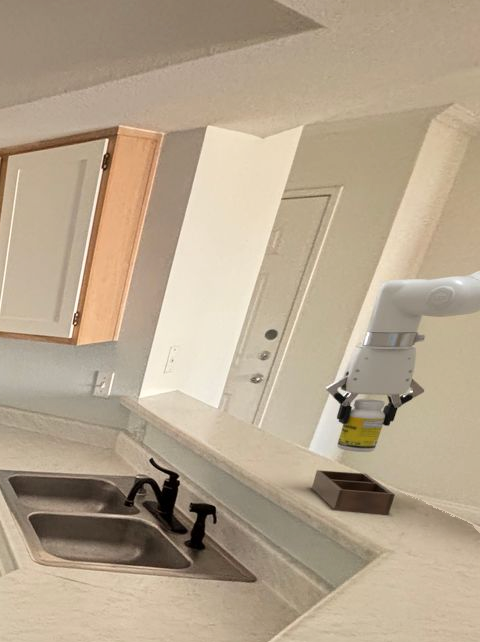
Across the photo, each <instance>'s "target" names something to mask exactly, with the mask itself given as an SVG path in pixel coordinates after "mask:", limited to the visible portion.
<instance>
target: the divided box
mask: <svg viewBox="0 0 480 642" xmlns="http://www.w3.org/2000/svg"><path fill="white" fill-rule="evenodd" d="M311 490H313V491H314V492H315V494H317V495H318V496H319V497H320V498H321V499H322V500H323V501H324V502H325V503H327V505H329V506H330V507H331V508H332V509H333V510H334V511H343V512H355V513H363V514H364V513H365V514H376V515H389V514H390V511H391V508H392V504H393V502H394V499H395V497H396V493H394V492H393V491H391V490H390V489H388V488H387V487H386V486H384V485H382V484H381V483H379V482H378V481H377V480H375V479H374V478H372V477H371V476H370V475H368V474H367V473H362V472H349V471H348V472H347V471H334V470H319V469H317V470H316V472H315V474H314V478H313V482H312V486H311Z"/></svg>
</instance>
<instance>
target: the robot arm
mask: <svg viewBox="0 0 480 642" xmlns="http://www.w3.org/2000/svg"><path fill="white" fill-rule="evenodd" d="M477 312H480V270H478V271H476V272H474V273H471V274H469V275H457V276H448V277H440V278H433V279H426V278H409V279H391V280H386V281H385V282H383V283H382V284H381V285H380V286H379V288H378V290H377V294H376V297H375V300H374V305H373V308H372V311H371V315H370V318H369V322H368V325H367V328H366V332H365V336H364V338H363V342H362V345H361V346H357V347H355V349H354V351H353V352H352V355H351V357H350V359H349V361H348V363H347V366H346V368H345V371H344V373H343V376H342V377H341V378H339V379H338V380H336V381H334V382H332V383H330V384H329V385H328V386H326V387H325V390H326V392H328V393H329V394H330V395H331V397H332V398H333V399H334V400H336V402H338V404H339V408H338V411H337V414H336V419H337V420H338V423H339V424H342V425H343V424H346V423H348V419H349V416H350V412H351V410H352V409H353V407H352V406H351V404H352V402H353V401H355V400H356V398H357V397H358V396H359V395H372V396H373V395H375V396H386V399H387V401H388V403H387V405H386V404H385V405H384V406H383V410H382V412H384V413H385V419H384V422H383V425H382V426H385V427H389V426H390V424H391V422H394V421H395V418H396V415H397V411H398V409H399V408H401V407H402V406H403V405H405V404H406V403H408V402H410V401H412V400H413V399H415V398H416V397H418V396H420V395H422V394H423V393H424V392H425V388H424V387H422V386H421V385H420V384H419V383H418V382H417V381H416V380H415V379H413V375H414V372H415V367H416V359H417V358H416V356H417V348H416V347H413V346H415V344H416V343H421V342H424V340H425V339H426V338H425V337H426V335H425V334H419V332H418V329H419V327H420V324H421V320H422V318H423V316H426V317H432V318H433V317H435V318H447V317H455V316H464V315H471V314H475V313H477ZM339 388H340V390H342V391H344V392H345V393H344V395H343V394H342V393H341V392H340V391H339V390H338V389H339ZM409 389H410V391H409Z"/></svg>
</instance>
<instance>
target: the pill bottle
mask: <svg viewBox="0 0 480 642" xmlns="http://www.w3.org/2000/svg"><path fill="white" fill-rule="evenodd" d="M385 403H386V402H385V401H384V400H379V399H368V398H367V399H366V398H361V399H354V402H353V407H354V408H352V409H351V412H350V416H349V419H348V423H346V424H342V427H341V431H340V433H339V438H338V441H337V448H338V449H340V450H343V451H348V452H359V453H371V452H373V451H375V449H376V447H377V444H378V441H379V437H380V435H381V432H382V428H383V426H384V425H383V422H384V419H385V413H384V412H383V410H382V409H384V407H385Z"/></svg>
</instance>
